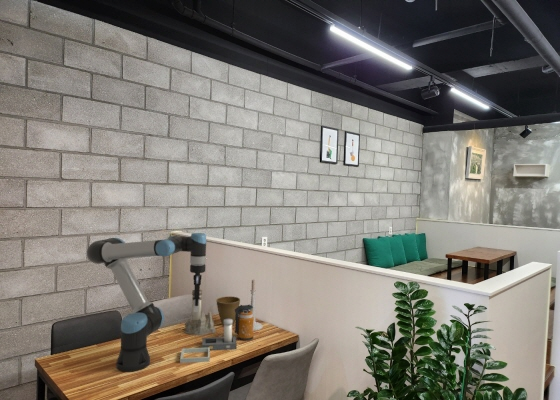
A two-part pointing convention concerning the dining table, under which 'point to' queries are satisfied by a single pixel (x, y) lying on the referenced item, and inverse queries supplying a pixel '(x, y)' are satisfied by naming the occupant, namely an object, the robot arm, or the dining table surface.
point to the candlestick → (256, 325)
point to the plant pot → (227, 308)
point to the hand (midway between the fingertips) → (196, 310)
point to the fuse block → (219, 343)
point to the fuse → (228, 330)
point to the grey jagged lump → (200, 325)
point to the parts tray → (195, 359)
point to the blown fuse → (198, 314)
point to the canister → (244, 322)
